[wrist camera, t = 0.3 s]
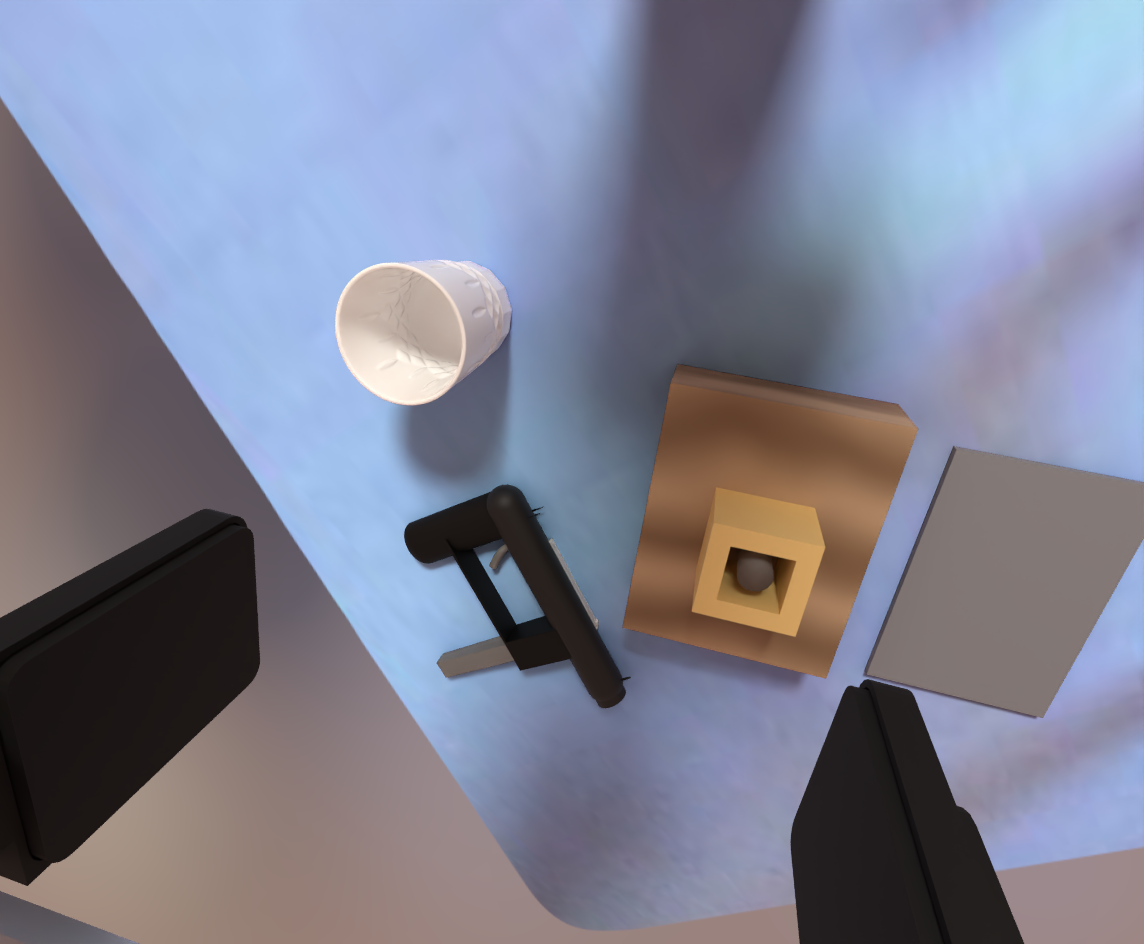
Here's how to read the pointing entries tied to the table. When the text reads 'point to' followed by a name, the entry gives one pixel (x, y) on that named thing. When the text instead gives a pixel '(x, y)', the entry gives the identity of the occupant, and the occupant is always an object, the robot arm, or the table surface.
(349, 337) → the white cup
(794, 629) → the collar
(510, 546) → the door handle
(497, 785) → the table surface
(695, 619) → the stand
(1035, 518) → the mat
